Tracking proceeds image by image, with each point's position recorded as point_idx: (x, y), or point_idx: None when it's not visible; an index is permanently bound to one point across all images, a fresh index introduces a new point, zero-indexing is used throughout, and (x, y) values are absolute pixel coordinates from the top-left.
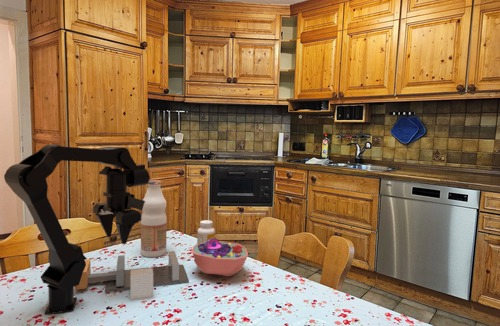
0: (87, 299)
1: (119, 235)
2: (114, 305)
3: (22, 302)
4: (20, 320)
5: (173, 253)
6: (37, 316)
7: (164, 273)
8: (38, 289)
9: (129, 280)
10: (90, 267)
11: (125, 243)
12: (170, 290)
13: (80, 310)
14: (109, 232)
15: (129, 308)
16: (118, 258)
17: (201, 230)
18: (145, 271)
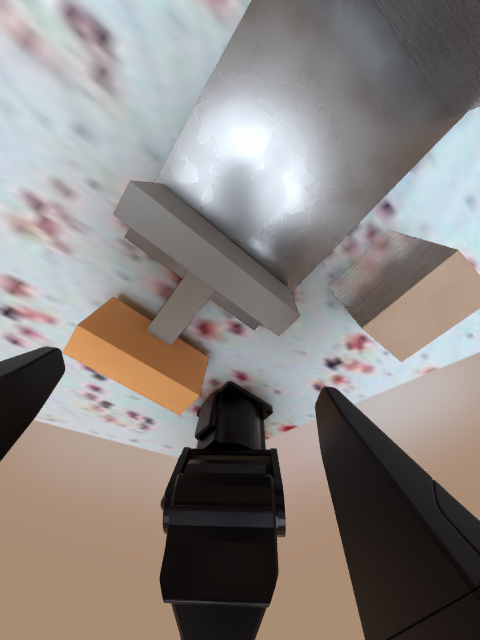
0: (250, 368)
1: (341, 512)
2: (337, 352)
3: (153, 432)
4: None
5: None
6: None
7: (358, 58)
8: (107, 397)
9: (265, 240)
10: (99, 308)
11: (331, 389)
12: (461, 180)
13: (283, 398)
14: (32, 388)
15: None
16: (156, 241)
17: None
18: (443, 301)
